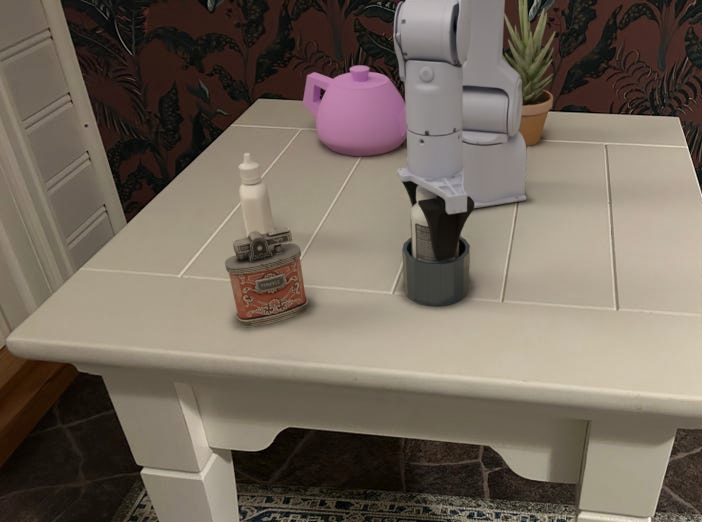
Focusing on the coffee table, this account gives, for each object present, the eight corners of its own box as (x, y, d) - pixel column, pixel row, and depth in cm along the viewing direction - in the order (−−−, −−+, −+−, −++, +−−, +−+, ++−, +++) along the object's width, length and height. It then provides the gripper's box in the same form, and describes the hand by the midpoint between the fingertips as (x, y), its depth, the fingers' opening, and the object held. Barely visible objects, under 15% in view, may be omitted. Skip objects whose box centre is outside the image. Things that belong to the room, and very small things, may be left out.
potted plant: (495, 127, 128) (501, -30, 113) (550, 130, 127) (563, -29, 112) (490, 149, 120) (495, -17, 105) (548, 152, 119) (562, -15, 104)
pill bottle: (468, 270, 84) (469, 190, 78) (428, 284, 82) (426, 203, 76) (442, 251, 87) (441, 173, 81) (403, 263, 85) (399, 185, 79)
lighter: (242, 331, 80) (224, 250, 73) (234, 315, 82) (216, 235, 76) (312, 311, 83) (301, 232, 76) (303, 297, 85) (291, 219, 79)
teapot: (284, 148, 121) (273, 73, 113) (330, 117, 132) (323, 47, 125) (405, 168, 114) (402, 90, 107) (443, 134, 125) (442, 61, 118)
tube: (456, 267, 90) (456, 227, 87) (478, 299, 84) (479, 257, 81) (397, 278, 88) (394, 237, 85) (415, 311, 82) (413, 269, 79)
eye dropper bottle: (235, 249, 94) (217, 160, 87) (260, 230, 98) (245, 143, 91) (264, 256, 93) (248, 165, 85) (288, 236, 97) (275, 148, 89)
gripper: (378, 107, 79) (385, 221, 87) (417, 157, 68) (421, 282, 76) (440, 100, 81) (441, 213, 89) (488, 148, 70) (484, 271, 78)
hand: (436, 244), depth 83 cm, fingers closed on pill bottle, 5 cm apart
